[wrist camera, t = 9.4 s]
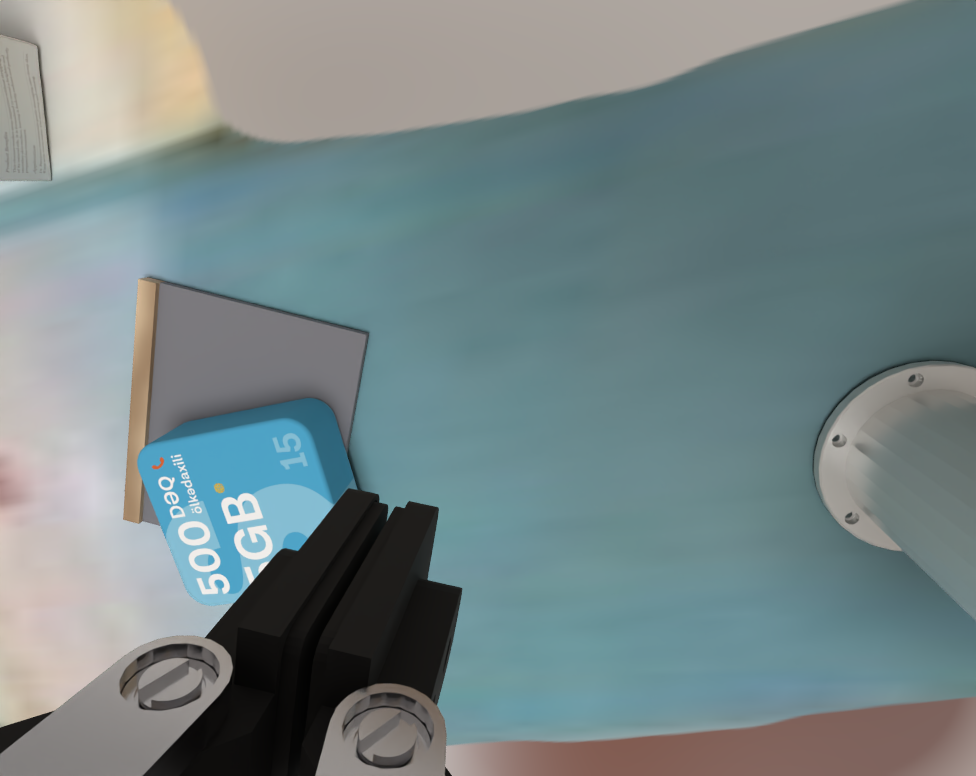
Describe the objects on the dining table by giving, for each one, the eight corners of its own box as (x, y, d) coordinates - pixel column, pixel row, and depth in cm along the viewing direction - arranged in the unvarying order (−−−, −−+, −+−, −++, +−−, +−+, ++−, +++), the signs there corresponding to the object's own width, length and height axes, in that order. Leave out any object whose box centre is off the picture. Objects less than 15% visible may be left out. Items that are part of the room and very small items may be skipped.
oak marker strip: (165, 281, 41) (156, 283, 40) (147, 517, 46) (138, 523, 45) (147, 277, 41) (138, 278, 40) (132, 513, 46) (123, 519, 45)
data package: (358, 586, 40) (192, 610, 42) (376, 549, 44) (225, 572, 46) (303, 414, 37) (127, 448, 39) (329, 392, 41) (169, 424, 43)
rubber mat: (369, 333, 40) (366, 334, 40) (327, 564, 46) (324, 568, 45) (165, 281, 41) (159, 282, 40) (147, 517, 46) (142, 520, 46)
